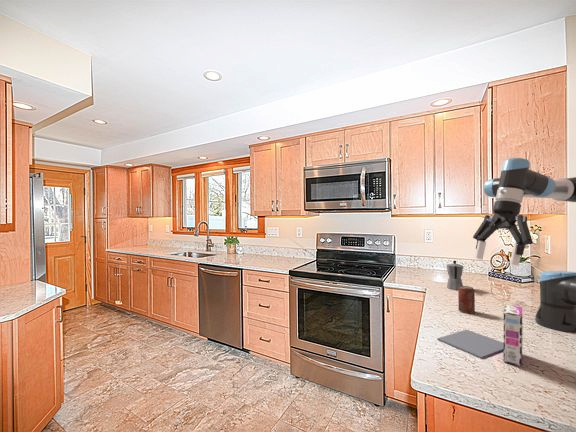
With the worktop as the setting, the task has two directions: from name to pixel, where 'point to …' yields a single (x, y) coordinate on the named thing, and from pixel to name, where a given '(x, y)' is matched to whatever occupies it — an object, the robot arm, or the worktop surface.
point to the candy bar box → (513, 335)
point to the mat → (473, 343)
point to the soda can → (466, 299)
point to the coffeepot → (454, 276)
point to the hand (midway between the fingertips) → (495, 261)
